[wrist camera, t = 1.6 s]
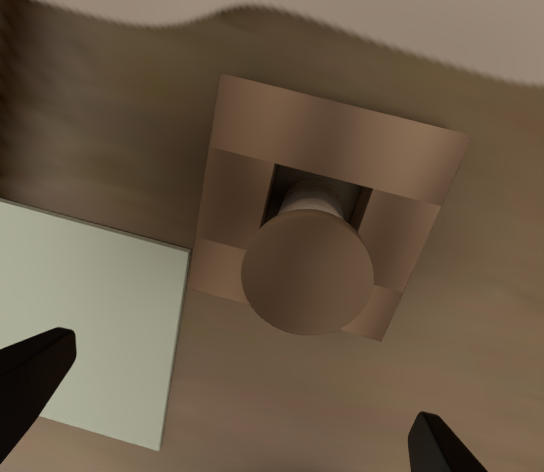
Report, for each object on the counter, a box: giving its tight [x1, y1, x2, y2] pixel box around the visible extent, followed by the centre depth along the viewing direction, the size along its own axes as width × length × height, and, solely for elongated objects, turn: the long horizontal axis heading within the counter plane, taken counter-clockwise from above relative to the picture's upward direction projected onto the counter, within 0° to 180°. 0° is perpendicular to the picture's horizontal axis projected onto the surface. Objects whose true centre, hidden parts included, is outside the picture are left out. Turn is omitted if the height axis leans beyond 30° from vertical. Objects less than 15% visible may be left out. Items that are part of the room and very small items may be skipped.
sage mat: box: [0, 198, 191, 451], centre depth 26 cm, size 20×20×1 cm
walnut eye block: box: [187, 73, 473, 341], centre depth 19 cm, size 12×12×3 cm
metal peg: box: [241, 179, 374, 335], centre depth 16 cm, size 5×5×10 cm
